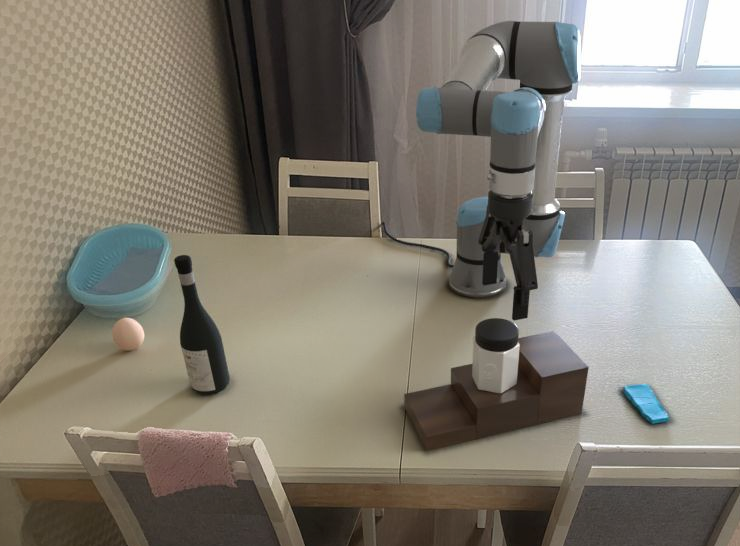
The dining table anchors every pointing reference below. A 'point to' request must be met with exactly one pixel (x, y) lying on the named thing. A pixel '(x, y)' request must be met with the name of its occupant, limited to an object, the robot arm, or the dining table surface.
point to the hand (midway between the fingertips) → (503, 300)
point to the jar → (495, 355)
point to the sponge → (646, 402)
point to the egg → (128, 334)
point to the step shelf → (502, 396)
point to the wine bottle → (200, 338)
